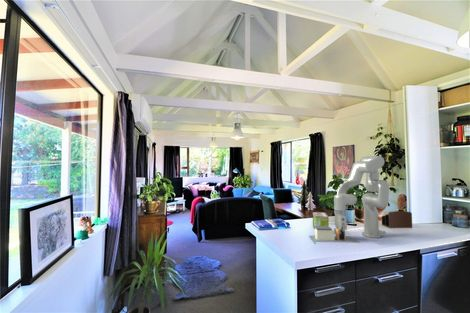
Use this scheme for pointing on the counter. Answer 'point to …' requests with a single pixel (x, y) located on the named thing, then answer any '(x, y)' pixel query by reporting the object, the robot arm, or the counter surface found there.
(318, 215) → the tea box
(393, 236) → the counter surface
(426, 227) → the counter surface
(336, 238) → the stub
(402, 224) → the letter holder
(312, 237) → the ticket board
